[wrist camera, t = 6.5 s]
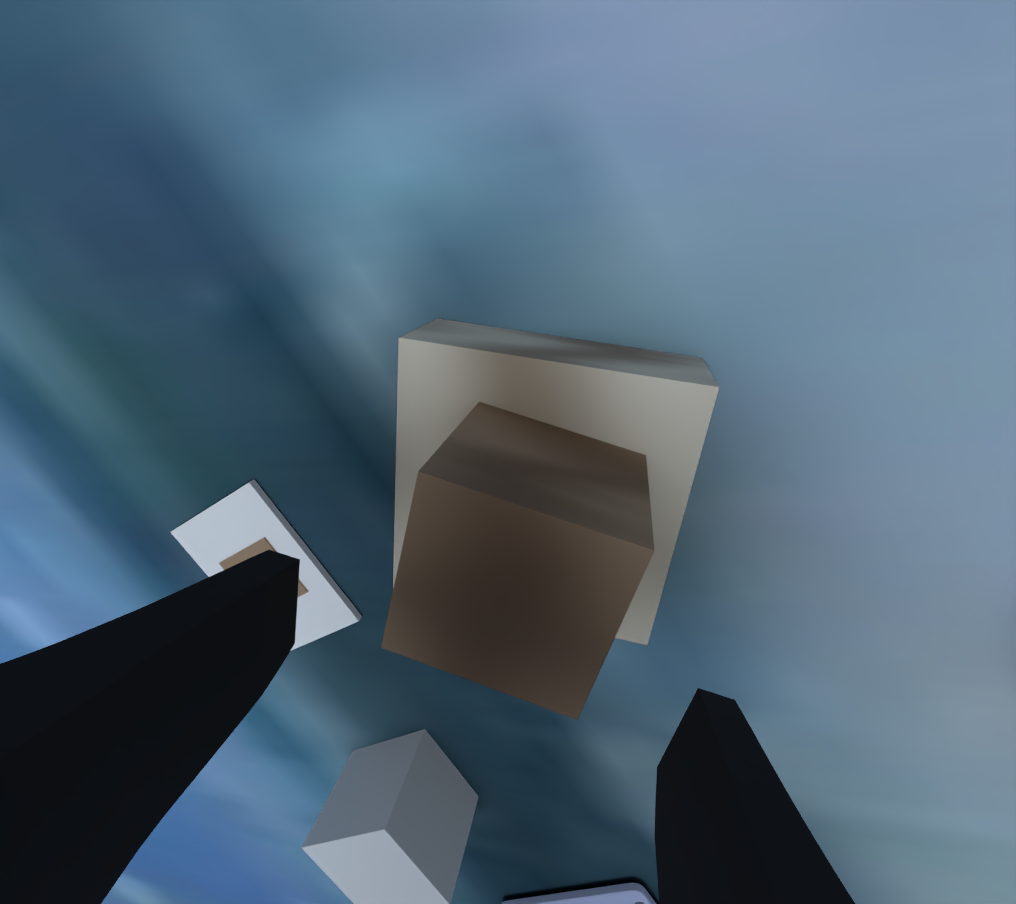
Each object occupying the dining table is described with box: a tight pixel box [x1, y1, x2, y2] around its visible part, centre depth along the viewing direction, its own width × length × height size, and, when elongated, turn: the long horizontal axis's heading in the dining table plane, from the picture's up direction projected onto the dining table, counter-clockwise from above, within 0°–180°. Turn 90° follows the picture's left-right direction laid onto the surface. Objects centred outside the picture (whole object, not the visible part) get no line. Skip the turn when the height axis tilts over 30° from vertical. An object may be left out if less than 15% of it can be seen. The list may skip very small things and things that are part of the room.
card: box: [171, 480, 362, 651], centre depth 22 cm, size 7×5×1 cm
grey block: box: [302, 729, 479, 904], centre depth 23 cm, size 4×4×4 cm
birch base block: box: [393, 319, 719, 645], centre depth 16 cm, size 8×8×4 cm
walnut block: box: [381, 402, 655, 720], centre depth 13 cm, size 4×4×4 cm
